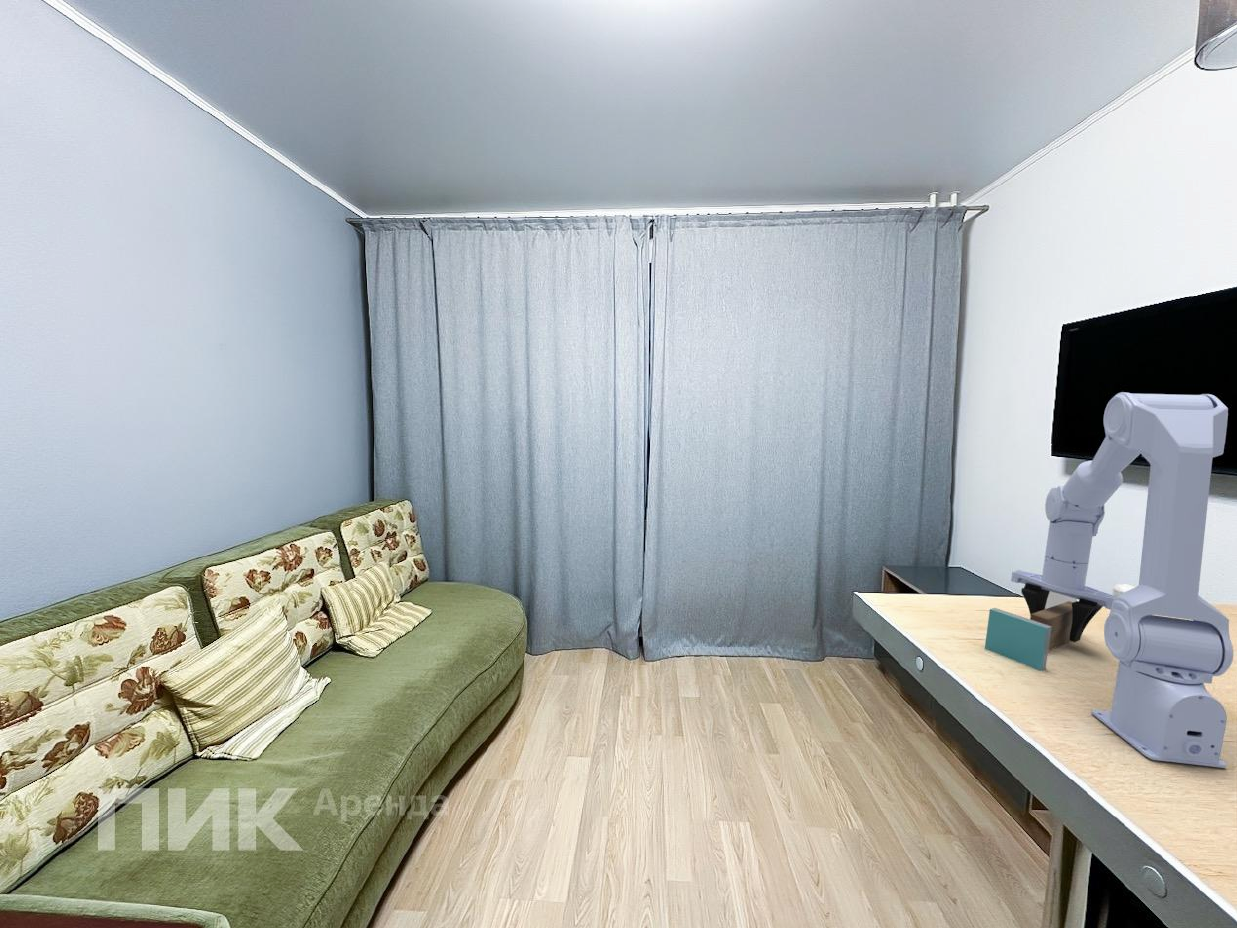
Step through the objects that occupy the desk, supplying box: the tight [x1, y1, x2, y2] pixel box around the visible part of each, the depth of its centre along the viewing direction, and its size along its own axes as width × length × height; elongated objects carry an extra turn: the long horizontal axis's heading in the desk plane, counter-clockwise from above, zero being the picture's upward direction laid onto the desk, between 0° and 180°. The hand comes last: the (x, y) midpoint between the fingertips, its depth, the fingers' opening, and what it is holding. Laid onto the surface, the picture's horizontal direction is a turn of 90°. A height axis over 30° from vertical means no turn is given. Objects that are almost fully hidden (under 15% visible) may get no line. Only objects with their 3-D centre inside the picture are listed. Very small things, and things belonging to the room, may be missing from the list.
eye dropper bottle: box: [1045, 591, 1078, 609], centre depth 102 cm, size 4×6×12 cm
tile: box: [984, 607, 1052, 672], centre depth 85 cm, size 8×2×7 cm, turn 29°
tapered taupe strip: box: [1029, 601, 1073, 652], centre depth 91 cm, size 14×2×6 cm, turn 119°
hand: (1055, 633), depth 91 cm, fingers open, 5 cm apart
